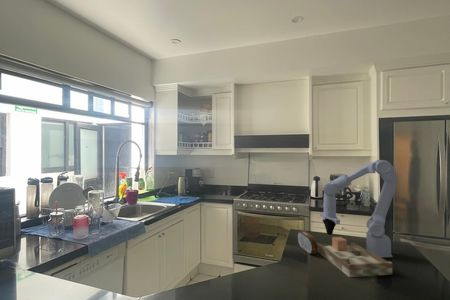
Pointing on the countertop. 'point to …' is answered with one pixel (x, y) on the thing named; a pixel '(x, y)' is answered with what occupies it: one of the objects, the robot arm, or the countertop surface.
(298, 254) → the countertop surface
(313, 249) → the tin
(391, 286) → the countertop surface
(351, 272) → the mottled shallow tray
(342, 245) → the block
